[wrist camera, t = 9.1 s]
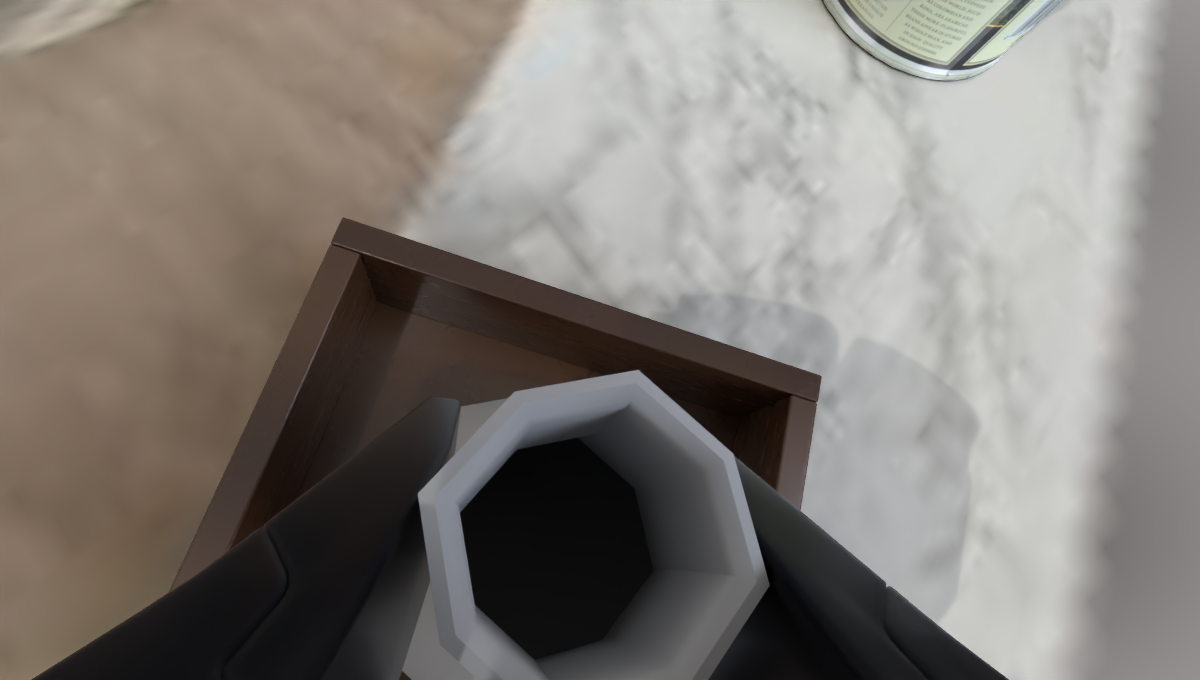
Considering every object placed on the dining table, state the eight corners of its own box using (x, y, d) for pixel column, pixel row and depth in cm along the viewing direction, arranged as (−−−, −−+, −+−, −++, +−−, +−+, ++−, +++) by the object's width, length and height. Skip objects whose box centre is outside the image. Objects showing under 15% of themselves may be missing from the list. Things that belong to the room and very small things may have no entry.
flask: (295, 489, 15) (5, 386, 5) (568, 346, 17) (699, 100, 8) (446, 794, 13) (415, 1354, 4) (716, 596, 16) (1085, 667, 6)
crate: (674, 830, 18) (738, 919, 14) (182, 709, 17) (85, 767, 12) (754, 406, 22) (822, 375, 18) (367, 281, 21) (342, 216, 17)
